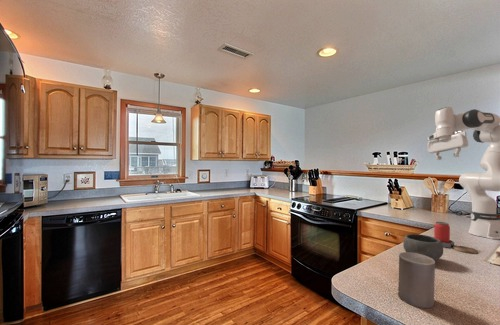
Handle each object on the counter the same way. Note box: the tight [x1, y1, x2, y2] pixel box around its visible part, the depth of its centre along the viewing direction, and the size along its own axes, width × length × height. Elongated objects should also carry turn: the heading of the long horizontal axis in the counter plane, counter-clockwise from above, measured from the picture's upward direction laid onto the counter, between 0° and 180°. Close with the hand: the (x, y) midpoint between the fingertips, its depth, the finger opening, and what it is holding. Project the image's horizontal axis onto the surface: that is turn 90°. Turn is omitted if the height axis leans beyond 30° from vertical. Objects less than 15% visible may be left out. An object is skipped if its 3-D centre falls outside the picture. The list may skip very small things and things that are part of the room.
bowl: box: [402, 233, 444, 262], centre depth 111 cm, size 15×15×10 cm
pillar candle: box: [397, 251, 436, 309], centre depth 78 cm, size 10×10×15 cm
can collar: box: [432, 236, 455, 249], centre depth 131 cm, size 10×10×2 cm
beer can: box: [433, 221, 451, 243], centre depth 131 cm, size 7×7×12 cm
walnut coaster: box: [452, 245, 478, 255], centre depth 123 cm, size 9×9×1 cm
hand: (447, 158), depth 135 cm, fingers open, 8 cm apart
